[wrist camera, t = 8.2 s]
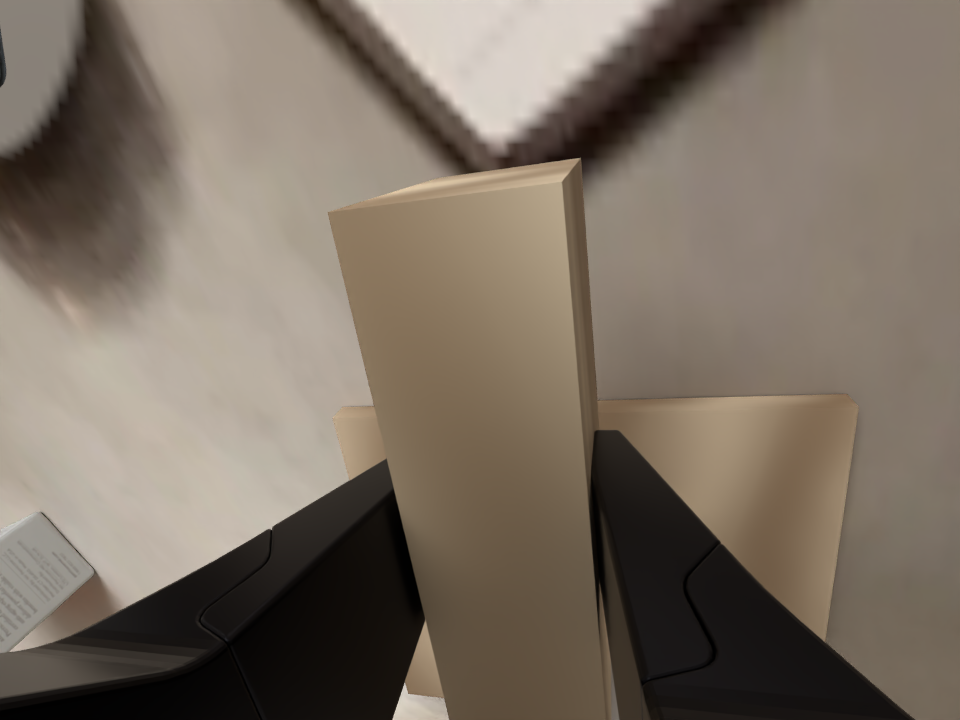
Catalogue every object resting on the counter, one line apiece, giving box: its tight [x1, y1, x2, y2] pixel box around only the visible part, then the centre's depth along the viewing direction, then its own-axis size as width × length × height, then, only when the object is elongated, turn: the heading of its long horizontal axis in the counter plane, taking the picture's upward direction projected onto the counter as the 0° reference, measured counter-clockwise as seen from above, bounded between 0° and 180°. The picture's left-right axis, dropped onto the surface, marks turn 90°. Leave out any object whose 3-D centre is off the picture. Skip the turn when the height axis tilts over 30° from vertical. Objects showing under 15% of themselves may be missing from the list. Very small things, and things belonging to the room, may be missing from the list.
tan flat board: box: [333, 394, 859, 698], centre depth 20 cm, size 16×14×1 cm
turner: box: [328, 158, 619, 720], centre depth 10 cm, size 5×14×4 cm, turn 8°
